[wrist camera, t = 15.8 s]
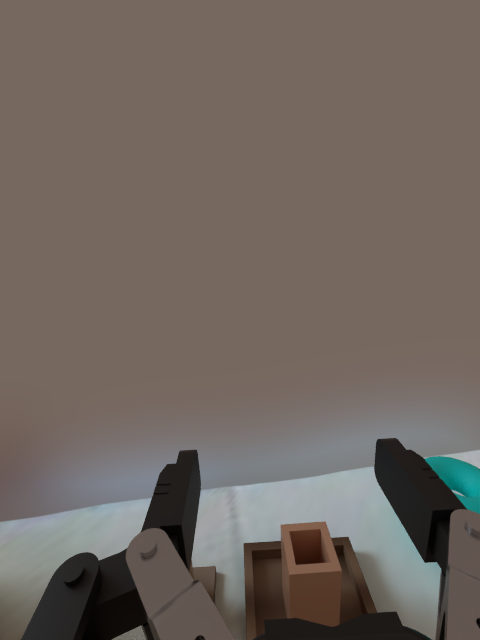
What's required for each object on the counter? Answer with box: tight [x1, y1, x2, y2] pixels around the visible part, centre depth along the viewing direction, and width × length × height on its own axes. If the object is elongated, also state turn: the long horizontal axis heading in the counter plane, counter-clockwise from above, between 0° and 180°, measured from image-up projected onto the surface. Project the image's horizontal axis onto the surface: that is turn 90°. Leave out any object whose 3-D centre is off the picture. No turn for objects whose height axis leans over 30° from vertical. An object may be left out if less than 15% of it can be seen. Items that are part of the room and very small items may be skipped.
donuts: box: [425, 456, 480, 514], centre depth 39 cm, size 10×10×10 cm
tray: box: [244, 537, 377, 640], centre depth 33 cm, size 14×14×2 cm
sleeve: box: [281, 522, 342, 627], centre depth 31 cm, size 5×5×10 cm
